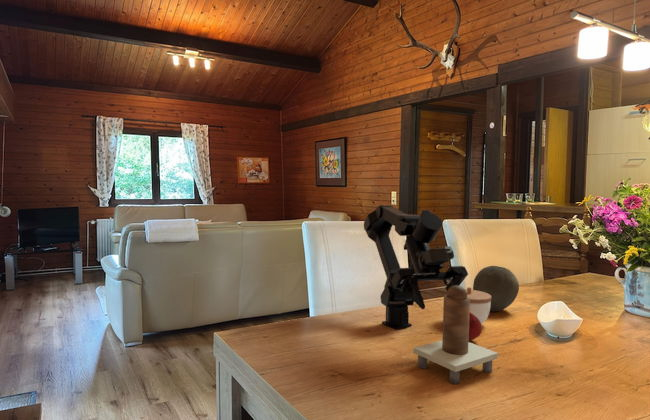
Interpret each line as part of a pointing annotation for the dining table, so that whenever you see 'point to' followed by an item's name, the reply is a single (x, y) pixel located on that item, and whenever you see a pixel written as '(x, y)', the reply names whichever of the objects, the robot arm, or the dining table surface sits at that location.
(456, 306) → the mill
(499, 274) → the grey sphere
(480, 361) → the shelf
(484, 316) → the lidded bowl
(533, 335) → the dining table surface
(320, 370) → the dining table surface
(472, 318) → the onion
